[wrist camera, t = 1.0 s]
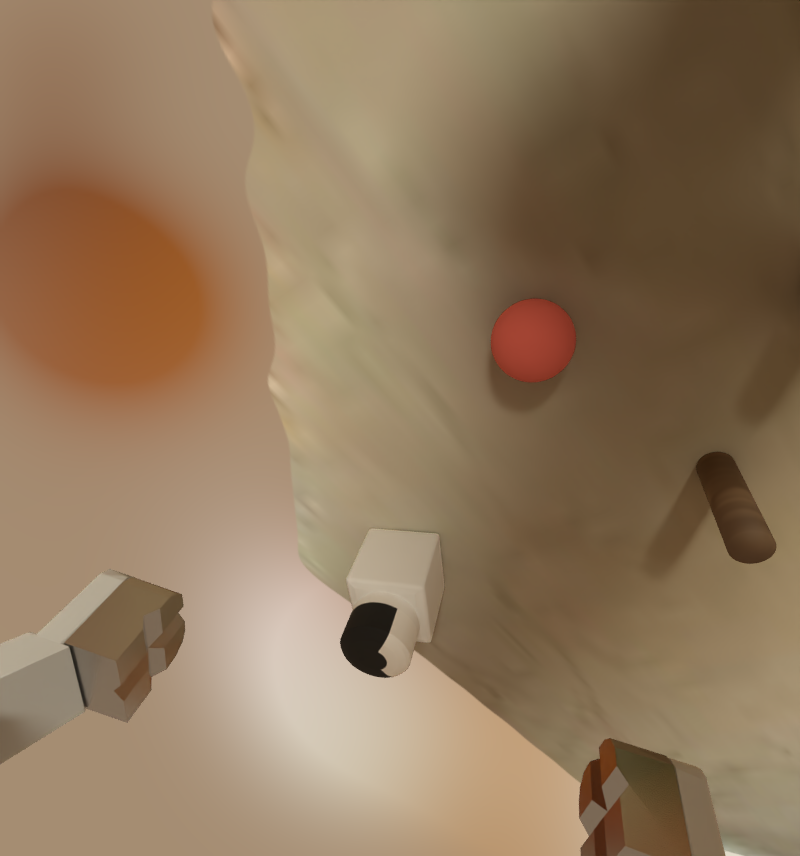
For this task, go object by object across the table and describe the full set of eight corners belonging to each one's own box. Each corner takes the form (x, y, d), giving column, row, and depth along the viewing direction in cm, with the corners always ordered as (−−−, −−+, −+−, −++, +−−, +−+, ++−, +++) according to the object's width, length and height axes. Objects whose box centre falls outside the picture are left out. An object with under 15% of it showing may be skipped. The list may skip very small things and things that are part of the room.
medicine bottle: (378, 579, 56) (339, 681, 46) (368, 526, 52) (323, 623, 42) (445, 586, 54) (419, 694, 44) (439, 531, 50) (409, 635, 40)
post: (706, 447, 39) (740, 525, 32) (742, 457, 39) (785, 538, 32) (690, 475, 41) (719, 555, 33) (724, 484, 40) (762, 568, 33)
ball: (506, 280, 37) (499, 303, 32) (586, 299, 36) (590, 326, 32) (487, 352, 40) (477, 383, 35) (560, 371, 39) (560, 405, 35)
